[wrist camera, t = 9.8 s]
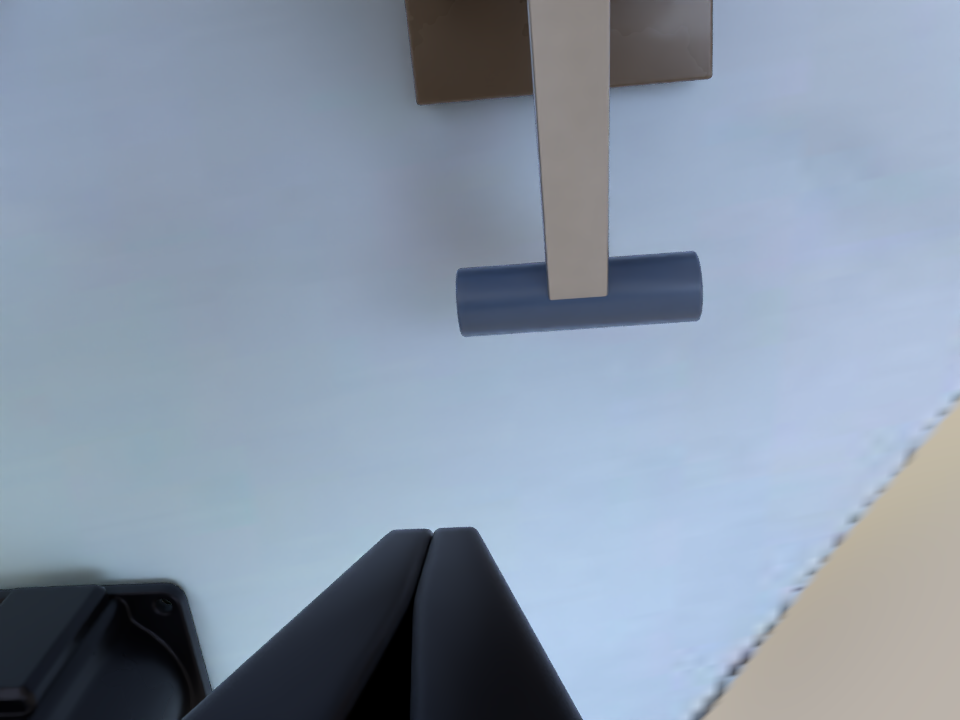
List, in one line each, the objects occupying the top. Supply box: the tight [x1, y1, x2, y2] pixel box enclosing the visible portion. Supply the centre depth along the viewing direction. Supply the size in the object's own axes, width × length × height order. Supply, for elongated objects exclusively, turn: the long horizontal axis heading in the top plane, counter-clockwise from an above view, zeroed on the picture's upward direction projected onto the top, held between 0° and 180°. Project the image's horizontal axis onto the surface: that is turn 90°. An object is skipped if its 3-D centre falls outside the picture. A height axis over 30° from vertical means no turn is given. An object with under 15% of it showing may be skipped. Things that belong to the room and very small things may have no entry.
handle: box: [456, 0, 703, 337], centre depth 13 cm, size 11×4×2 cm, turn 5°
